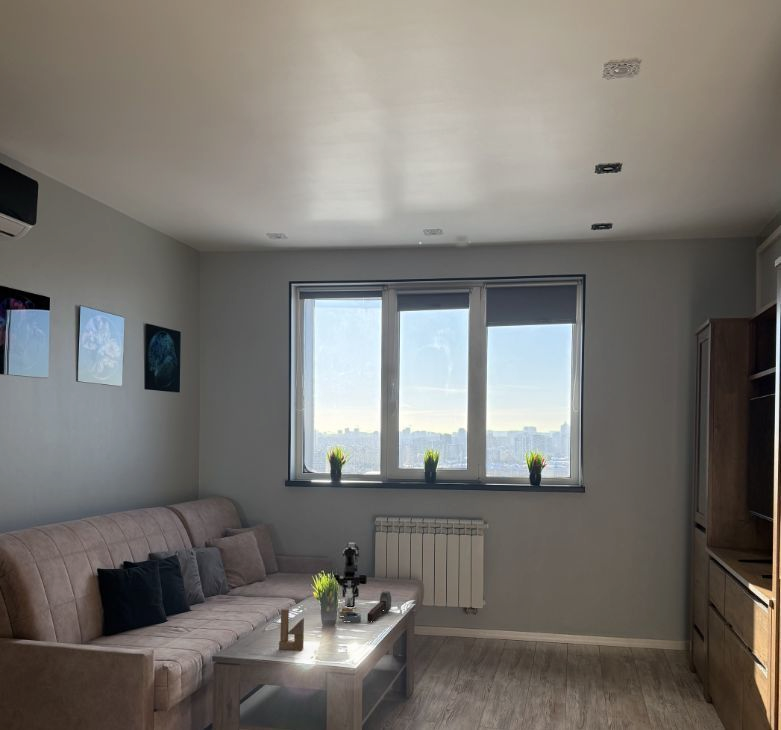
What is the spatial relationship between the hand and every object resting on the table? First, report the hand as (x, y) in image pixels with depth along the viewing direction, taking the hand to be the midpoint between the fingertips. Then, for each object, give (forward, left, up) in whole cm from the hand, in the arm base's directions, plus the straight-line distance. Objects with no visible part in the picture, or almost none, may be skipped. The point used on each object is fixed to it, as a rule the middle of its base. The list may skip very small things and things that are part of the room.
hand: (349, 592), depth 429 cm
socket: (+6, +2, -13) cm, 15 cm away
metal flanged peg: (-1, 0, -7) cm, 7 cm away
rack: (-4, -1, -13) cm, 14 cm away
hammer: (-4, +16, -13) cm, 21 cm away
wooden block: (+62, -25, -13) cm, 68 cm away
